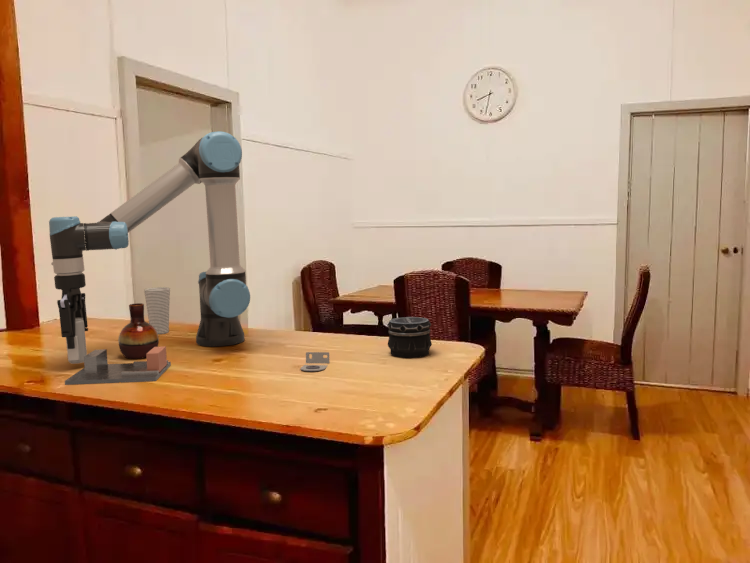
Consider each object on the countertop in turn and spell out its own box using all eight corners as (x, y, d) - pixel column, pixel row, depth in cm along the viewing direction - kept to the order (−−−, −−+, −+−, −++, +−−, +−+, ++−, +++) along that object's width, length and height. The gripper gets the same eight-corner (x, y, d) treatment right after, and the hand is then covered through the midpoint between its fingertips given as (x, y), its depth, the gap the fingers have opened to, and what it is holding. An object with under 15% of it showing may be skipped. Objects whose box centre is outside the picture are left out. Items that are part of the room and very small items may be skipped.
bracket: (298, 373, 164) (297, 360, 164) (306, 364, 174) (305, 352, 174) (322, 374, 164) (322, 361, 163) (329, 364, 174) (329, 352, 173)
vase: (167, 352, 190) (164, 301, 188) (144, 361, 179) (140, 307, 178) (135, 351, 193) (132, 301, 191) (111, 359, 182) (107, 306, 181)
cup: (147, 331, 223) (144, 288, 222) (172, 329, 226) (170, 286, 224) (146, 336, 215) (143, 291, 214) (172, 334, 218) (169, 289, 216)
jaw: (166, 364, 170) (165, 346, 170) (159, 372, 162) (158, 353, 162) (155, 365, 170) (154, 346, 169) (147, 372, 162) (146, 353, 161)
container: (379, 352, 185) (379, 318, 184) (417, 347, 191) (417, 314, 190) (401, 361, 174) (400, 325, 173) (440, 355, 180) (440, 321, 179)
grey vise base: (170, 365, 174) (169, 343, 174) (155, 381, 158) (154, 357, 158) (88, 368, 173) (87, 346, 172) (64, 384, 157) (63, 361, 156)
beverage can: (82, 358, 178) (78, 316, 176) (90, 361, 175) (86, 318, 173) (65, 362, 174) (60, 319, 172) (73, 364, 171) (69, 321, 169)
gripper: (68, 270, 180) (76, 350, 183) (40, 278, 162) (49, 366, 165) (95, 269, 180) (102, 349, 183) (70, 276, 163) (79, 364, 166)
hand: (77, 357), depth 174 cm, fingers closed on beverage can, 5 cm apart
